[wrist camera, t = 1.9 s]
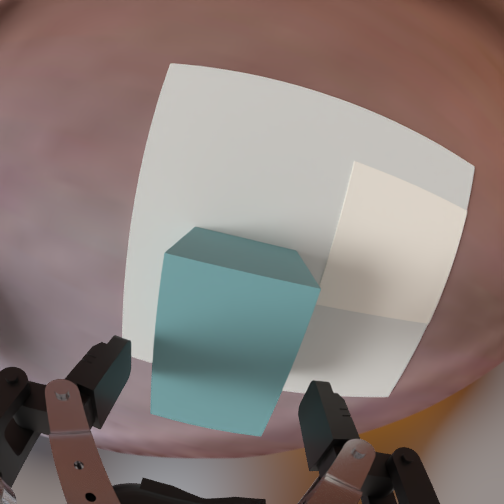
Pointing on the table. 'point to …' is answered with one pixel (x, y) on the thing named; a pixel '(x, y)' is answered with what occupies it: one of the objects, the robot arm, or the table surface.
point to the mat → (302, 214)
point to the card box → (227, 330)
